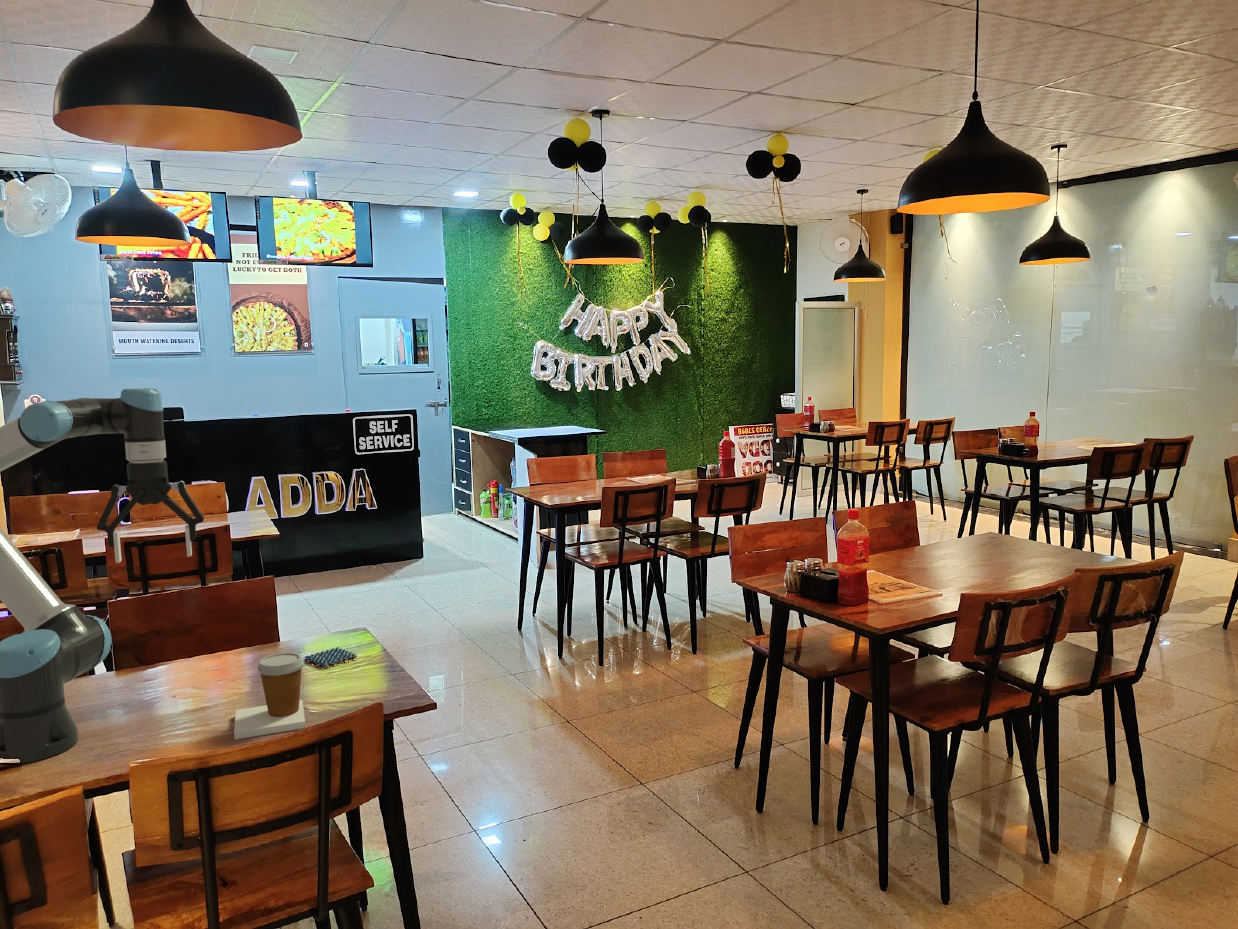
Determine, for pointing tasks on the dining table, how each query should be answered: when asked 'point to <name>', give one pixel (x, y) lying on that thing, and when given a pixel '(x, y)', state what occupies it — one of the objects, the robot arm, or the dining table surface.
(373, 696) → the dining table surface
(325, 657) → the woven mat
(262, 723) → the pad
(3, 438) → the robot arm
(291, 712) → the disposable coffee cup
